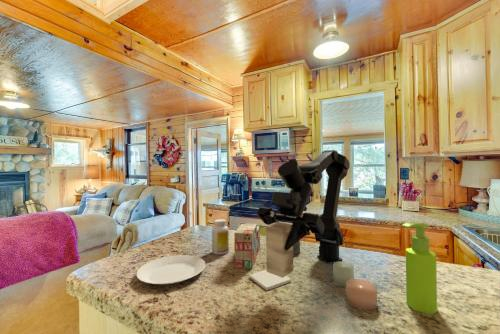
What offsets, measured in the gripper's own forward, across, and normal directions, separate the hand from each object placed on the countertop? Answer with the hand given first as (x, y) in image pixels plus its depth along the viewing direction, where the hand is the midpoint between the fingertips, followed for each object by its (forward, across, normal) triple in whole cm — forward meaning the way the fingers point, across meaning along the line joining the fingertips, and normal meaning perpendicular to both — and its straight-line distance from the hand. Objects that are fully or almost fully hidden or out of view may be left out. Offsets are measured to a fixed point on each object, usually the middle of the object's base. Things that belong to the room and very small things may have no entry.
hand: (276, 247), depth 58 cm
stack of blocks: (-2, -25, +22) cm, 33 cm away
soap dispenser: (-4, +28, +24) cm, 37 cm away
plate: (+17, -34, +3) cm, 38 cm away
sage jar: (-4, +10, +24) cm, 26 cm away
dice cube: (-12, -14, +32) cm, 37 cm away
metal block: (+4, 0, +6) cm, 7 cm away
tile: (+4, -8, +14) cm, 17 cm away
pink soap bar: (+1, +16, +19) cm, 25 cm away
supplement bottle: (+1, -36, +19) cm, 41 cm away
